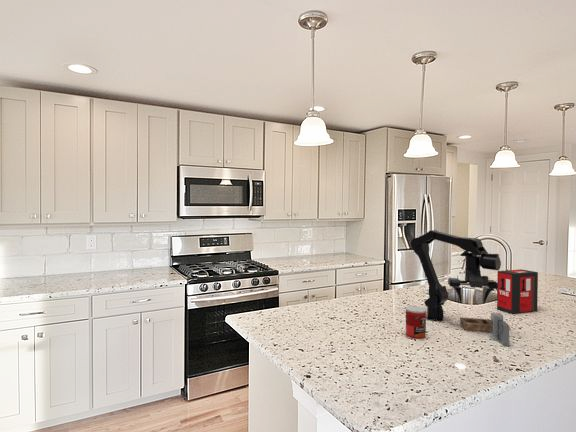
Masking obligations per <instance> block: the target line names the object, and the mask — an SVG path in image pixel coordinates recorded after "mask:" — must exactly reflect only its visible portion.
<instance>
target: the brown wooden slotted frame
mask: <svg viewBox="0 0 576 432" xmlns="http://www.w3.org/2000/svg"><path fill="white" fill-rule="evenodd" d="M459 325H460V326H461V328H462V329H463V330H464V331H466V332H468V331H469V332H478V333H479V332H481V333H490V327H491V318H488V319H487V318H476V317H475V318H473V317H460V319H459Z"/></svg>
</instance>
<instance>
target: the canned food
mask: <svg viewBox="0 0 576 432" xmlns="http://www.w3.org/2000/svg"><path fill="white" fill-rule="evenodd" d="M426 315H427V309H425V308H424V307H420V306H412V305H411V306H410V305H409V306H406V307H405V335H406V336H407V337H409V338H411V339H416V340H419V339H420V340H421V339H422V340H423V339H425V337H426V333H427V332H426V330H427V316H426Z"/></svg>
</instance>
